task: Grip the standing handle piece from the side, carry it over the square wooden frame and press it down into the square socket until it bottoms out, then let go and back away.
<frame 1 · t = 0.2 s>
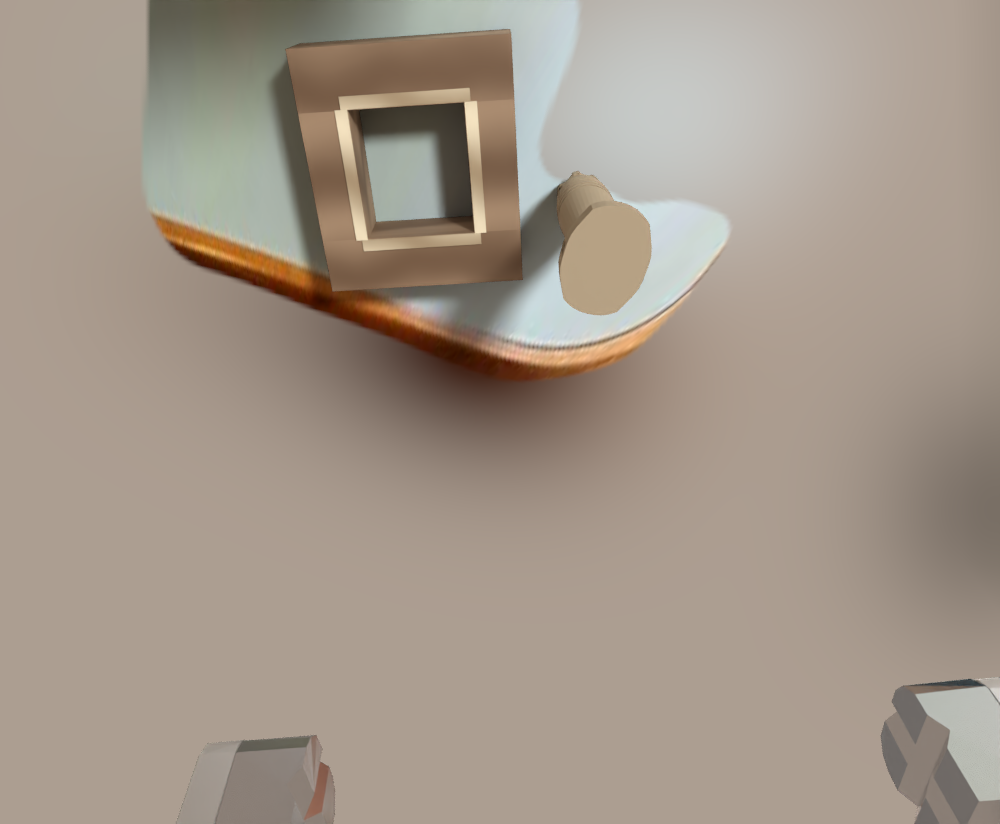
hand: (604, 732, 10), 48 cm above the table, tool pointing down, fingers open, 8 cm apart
handle: (578, 191, 54), on the table
square wooden frame: (419, 160, 52), on the table
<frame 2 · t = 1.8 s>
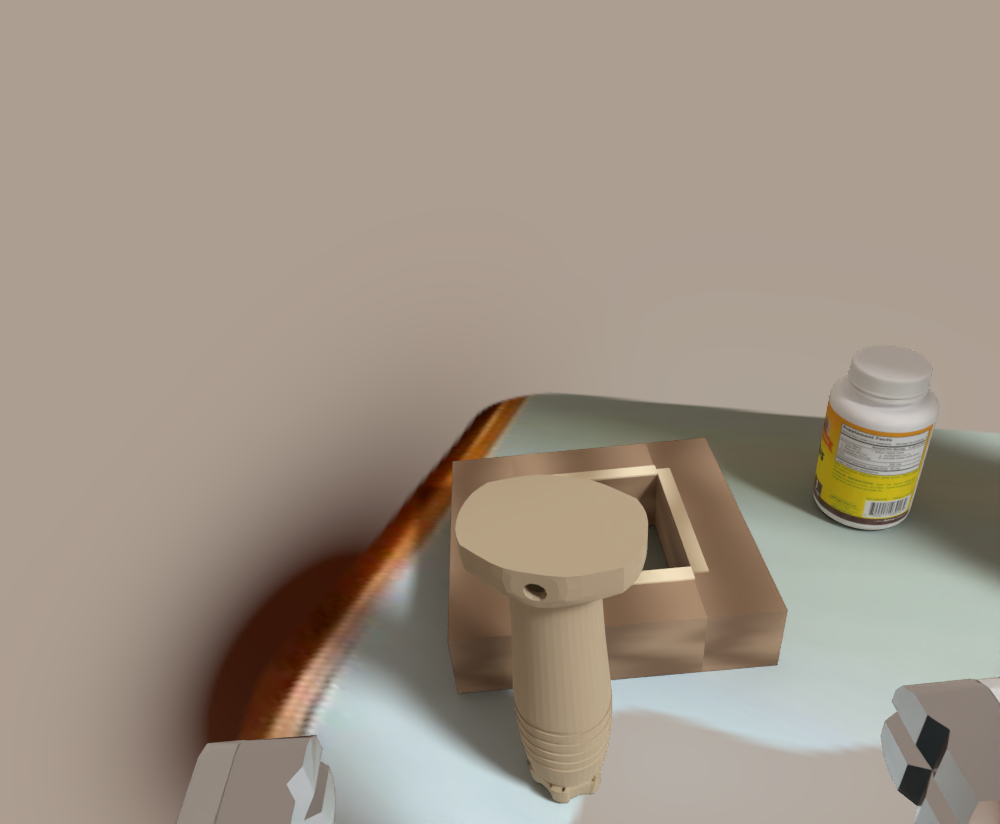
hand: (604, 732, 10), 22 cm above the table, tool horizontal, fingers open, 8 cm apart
handle: (567, 773, 32), on the table
supplement bottle: (857, 506, 45), on the table
square wooden frame: (596, 575, 42), on the table
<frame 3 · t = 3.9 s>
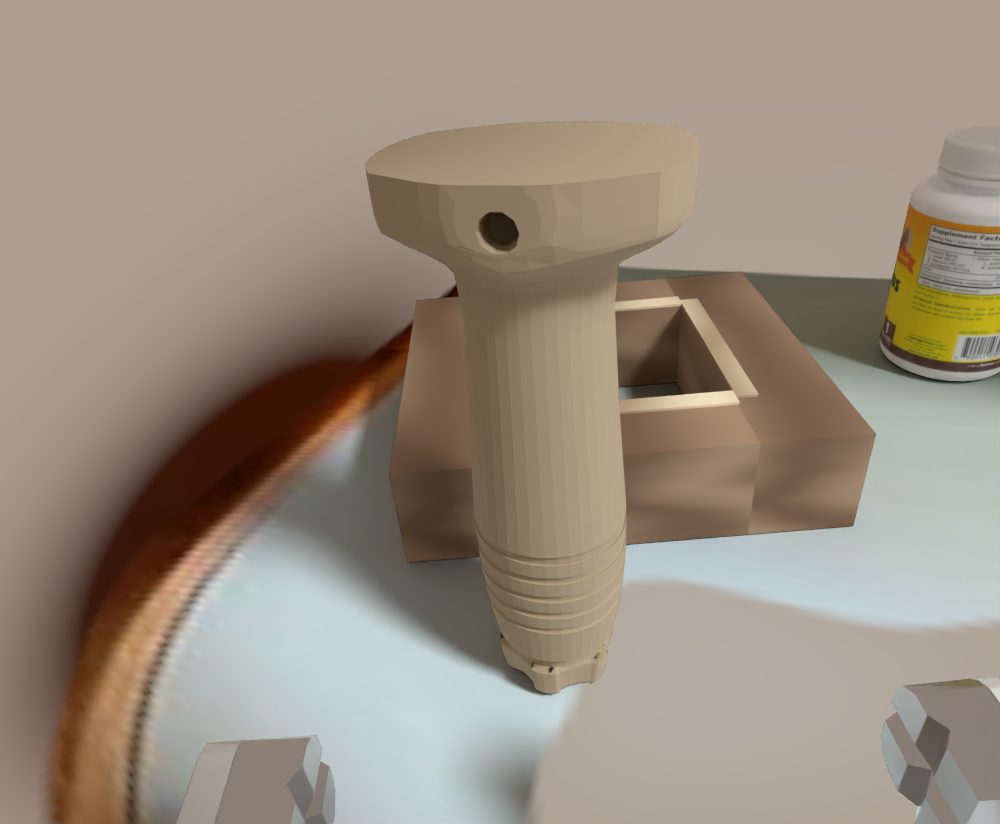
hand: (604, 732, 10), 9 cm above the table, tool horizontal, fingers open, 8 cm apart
handle: (558, 658, 22), on the table
supplement bottle: (938, 360, 35), on the table
square wooden frame: (600, 433, 32), on the table
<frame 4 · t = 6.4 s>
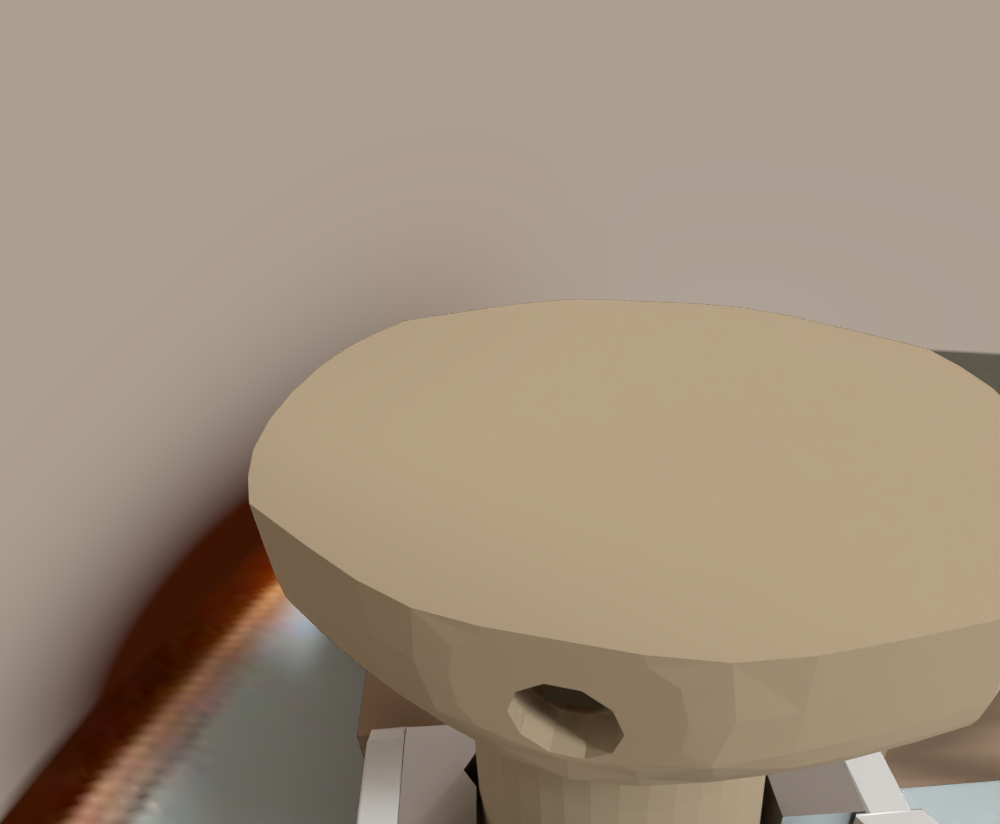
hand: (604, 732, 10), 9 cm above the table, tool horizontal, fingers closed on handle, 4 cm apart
square wooden frame: (646, 594, 24), on the table
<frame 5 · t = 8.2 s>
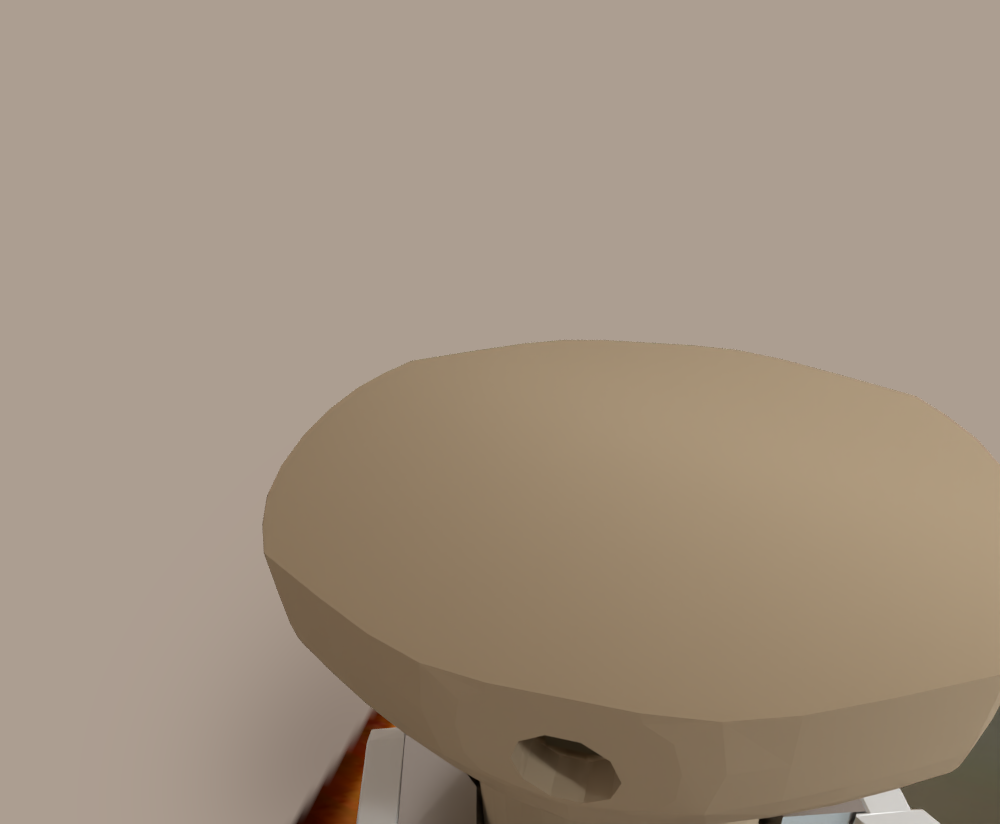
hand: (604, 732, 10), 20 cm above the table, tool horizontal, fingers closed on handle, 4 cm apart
when the fingers open (10 cm above the table, at t = 10.2 s): handle stays where it is, resting in square wooden frame.
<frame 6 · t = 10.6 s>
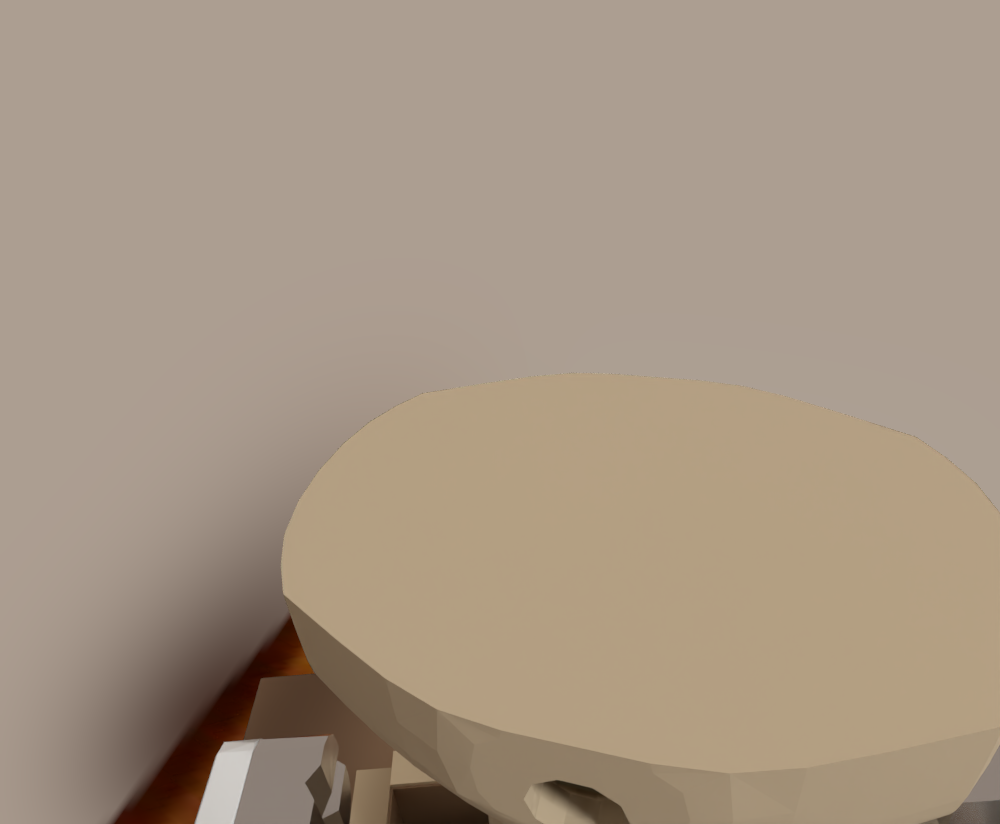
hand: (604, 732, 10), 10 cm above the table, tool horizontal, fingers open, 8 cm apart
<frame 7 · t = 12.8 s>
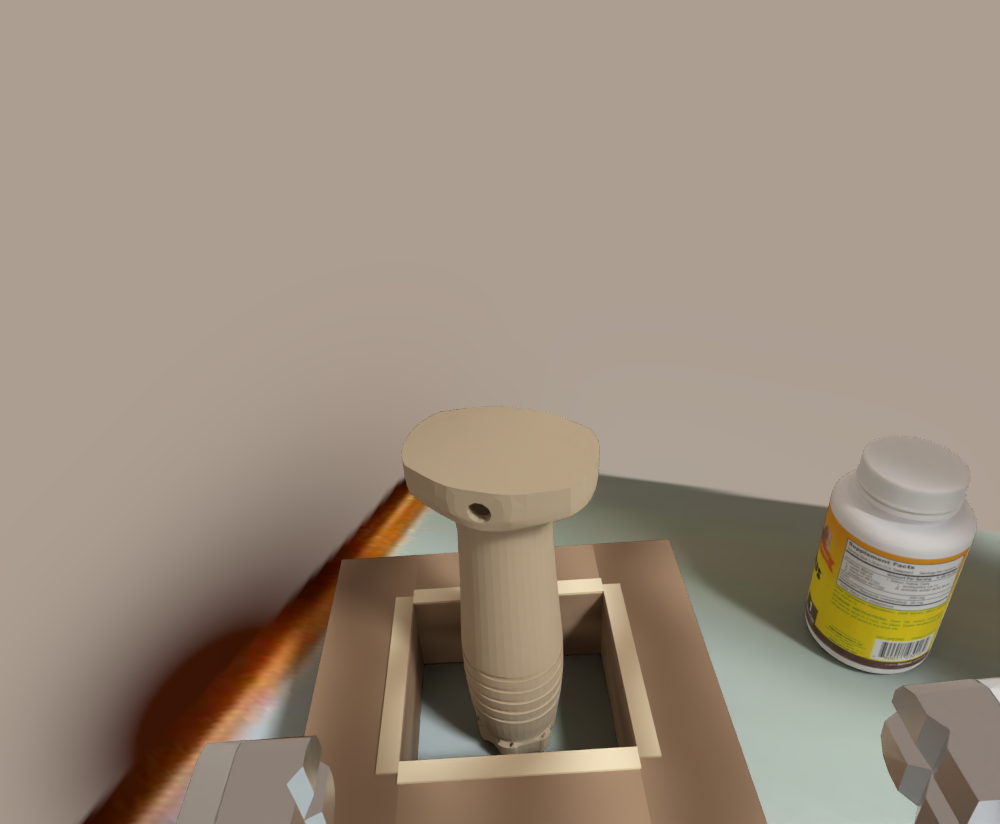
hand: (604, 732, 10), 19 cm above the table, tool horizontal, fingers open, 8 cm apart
handle: (518, 733, 31), resting in square wooden frame
supplement bottle: (862, 635, 35), on the table
square wooden frame: (516, 728, 31), on the table
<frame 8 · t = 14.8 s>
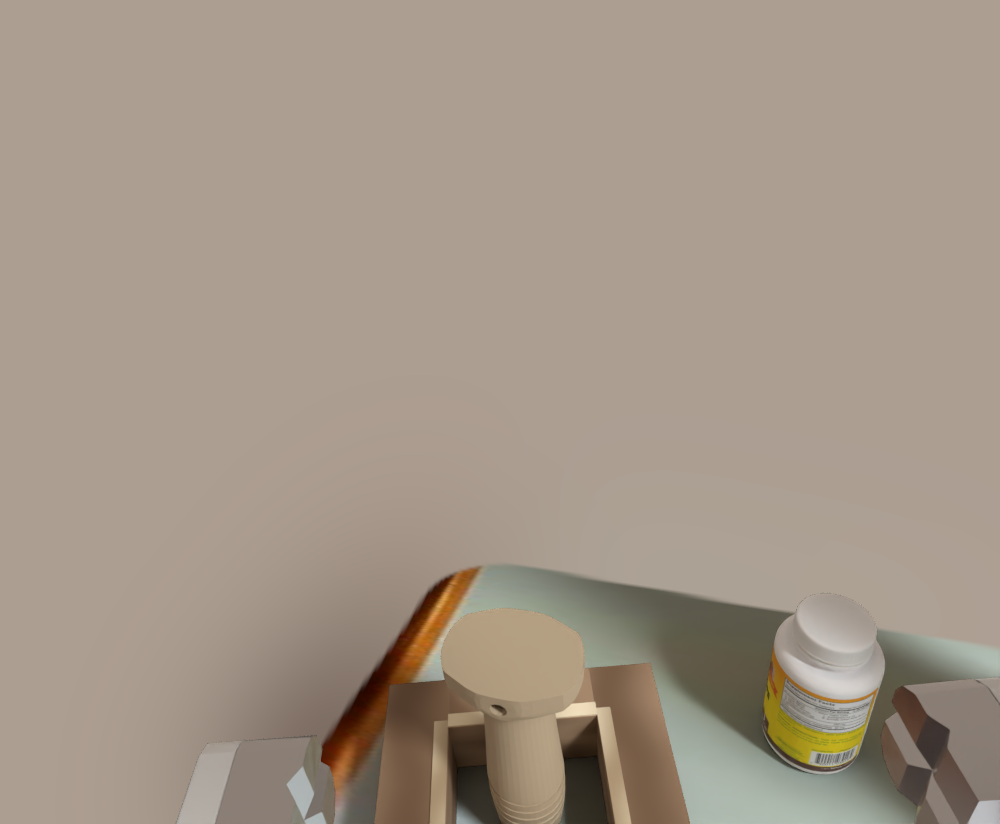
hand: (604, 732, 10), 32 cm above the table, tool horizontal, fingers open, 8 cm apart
supplement bottle: (807, 736, 44), on the table
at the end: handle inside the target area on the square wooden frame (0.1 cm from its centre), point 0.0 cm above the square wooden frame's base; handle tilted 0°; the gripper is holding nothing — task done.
